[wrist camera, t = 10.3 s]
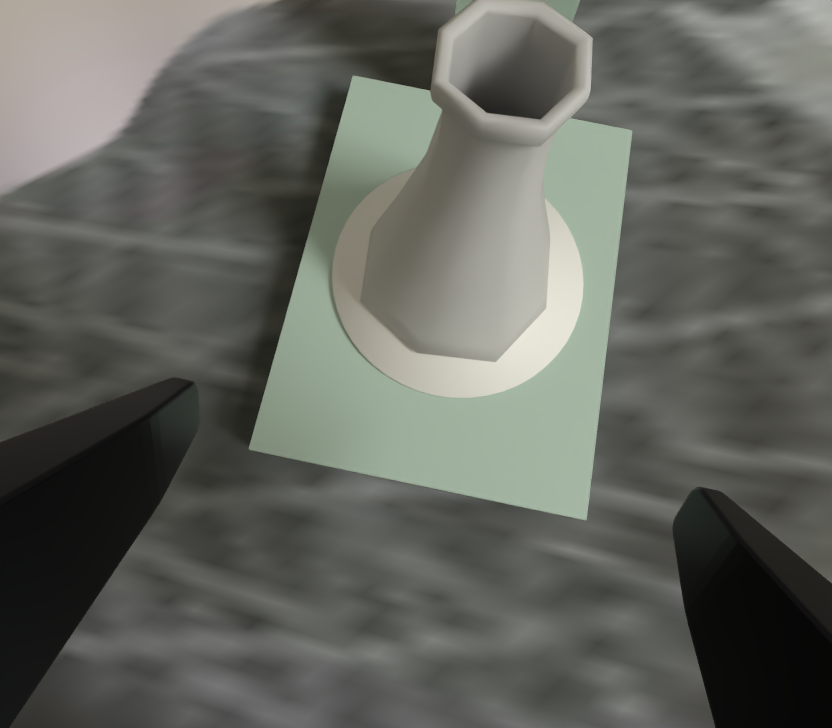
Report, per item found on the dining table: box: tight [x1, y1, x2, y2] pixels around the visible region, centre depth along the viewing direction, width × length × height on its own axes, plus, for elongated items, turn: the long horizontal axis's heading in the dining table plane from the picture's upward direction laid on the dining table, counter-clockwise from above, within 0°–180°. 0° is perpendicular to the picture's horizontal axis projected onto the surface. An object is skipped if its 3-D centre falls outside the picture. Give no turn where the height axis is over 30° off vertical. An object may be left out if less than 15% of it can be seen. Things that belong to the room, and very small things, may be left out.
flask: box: [360, 0, 593, 362], centre depth 15 cm, size 7×7×10 cm
